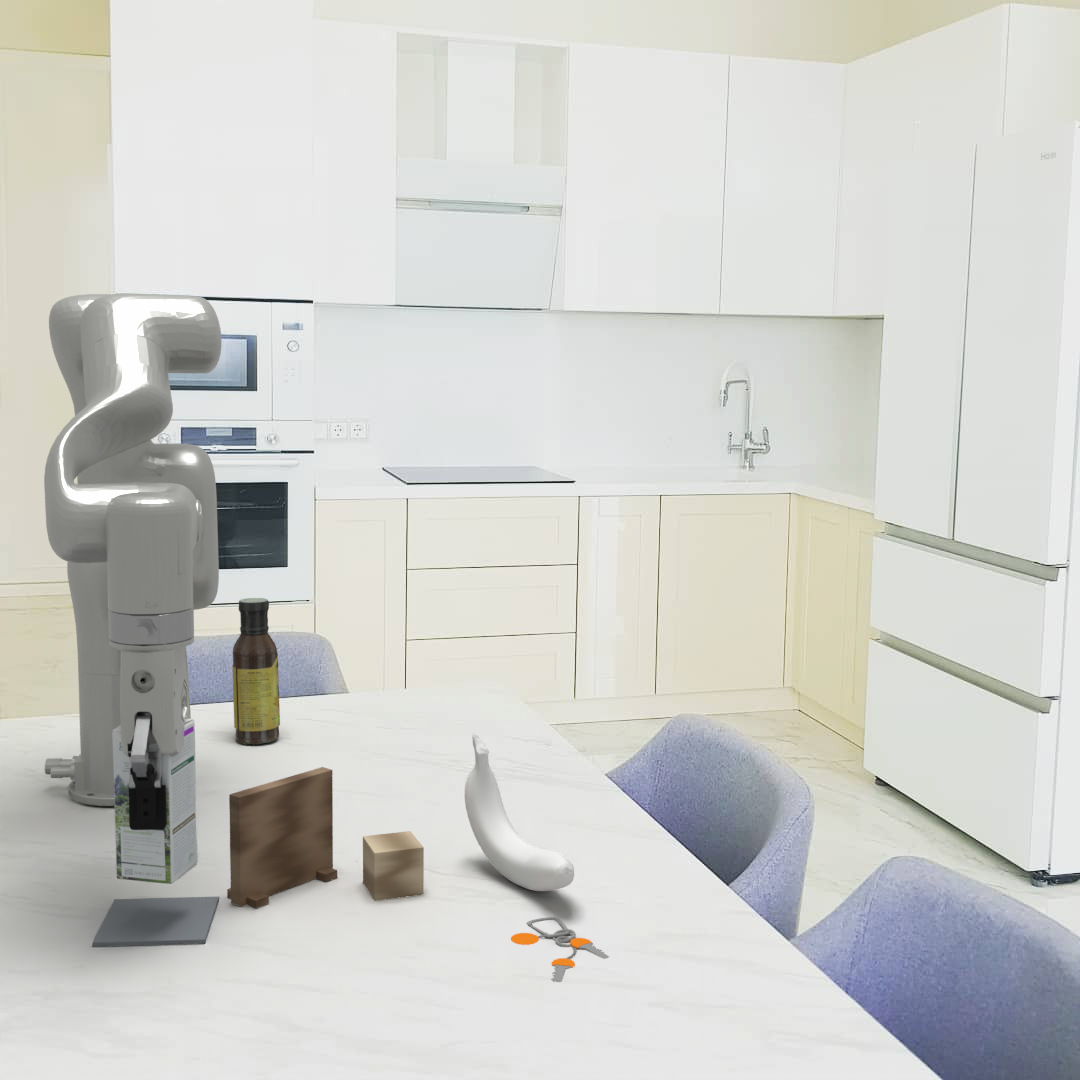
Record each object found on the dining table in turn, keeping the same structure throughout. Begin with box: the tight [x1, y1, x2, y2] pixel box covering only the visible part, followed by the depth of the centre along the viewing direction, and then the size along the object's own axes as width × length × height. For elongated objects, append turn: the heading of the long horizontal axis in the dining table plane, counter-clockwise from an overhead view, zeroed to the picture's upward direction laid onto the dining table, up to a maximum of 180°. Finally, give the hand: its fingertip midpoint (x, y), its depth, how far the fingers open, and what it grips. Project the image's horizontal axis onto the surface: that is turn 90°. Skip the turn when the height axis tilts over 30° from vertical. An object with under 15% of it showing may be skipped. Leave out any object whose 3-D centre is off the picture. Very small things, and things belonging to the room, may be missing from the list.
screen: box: [226, 766, 338, 909], centre depth 136 cm, size 12×4×11 cm, turn 141°
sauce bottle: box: [232, 597, 281, 746], centre depth 188 cm, size 6×6×20 cm
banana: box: [464, 733, 575, 892], centre depth 138 cm, size 5×19×15 cm, turn 37°
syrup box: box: [112, 718, 199, 885], centre depth 126 cm, size 6×6×14 cm
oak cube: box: [362, 830, 425, 902], centre depth 137 cm, size 5×5×5 cm
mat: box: [91, 896, 220, 948], centre depth 128 cm, size 10×10×1 cm
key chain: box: [510, 916, 610, 983], centre depth 124 cm, size 13×7×1 cm, turn 24°
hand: (155, 813), depth 127 cm, fingers closed on syrup box, 7 cm apart
